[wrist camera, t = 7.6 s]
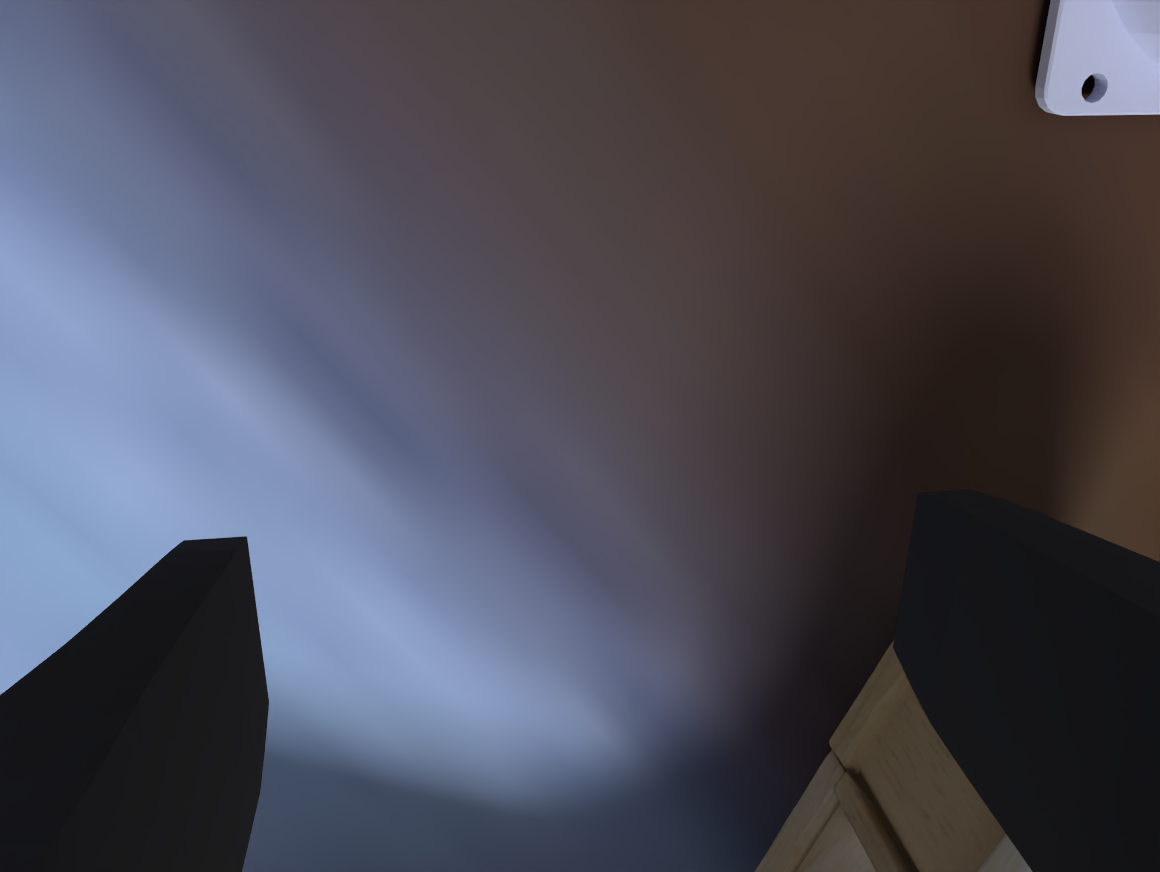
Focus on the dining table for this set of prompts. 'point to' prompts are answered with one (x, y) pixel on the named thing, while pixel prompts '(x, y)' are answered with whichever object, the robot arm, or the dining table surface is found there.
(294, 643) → the dining table surface
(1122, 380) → the dining table surface
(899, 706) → the toy kitchen set
